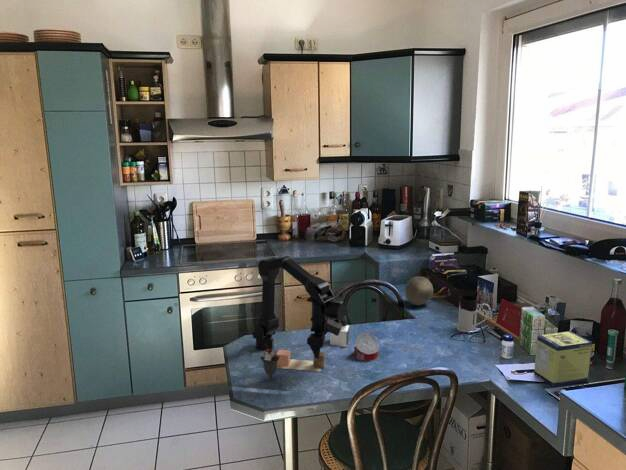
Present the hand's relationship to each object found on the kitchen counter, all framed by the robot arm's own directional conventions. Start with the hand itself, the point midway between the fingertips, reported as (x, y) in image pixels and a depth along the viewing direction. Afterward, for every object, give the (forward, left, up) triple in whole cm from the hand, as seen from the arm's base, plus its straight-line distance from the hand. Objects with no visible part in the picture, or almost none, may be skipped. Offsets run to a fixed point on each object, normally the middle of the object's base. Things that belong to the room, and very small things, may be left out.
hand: (319, 352), depth 195 cm
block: (-14, 0, -5) cm, 15 cm away
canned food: (+17, +15, -7) cm, 24 cm away
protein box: (+89, +8, -7) cm, 90 cm away
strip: (-9, 0, -7) cm, 11 cm away
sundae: (-16, -14, -7) cm, 22 cm away
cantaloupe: (+40, +79, -7) cm, 89 cm away
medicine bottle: (+5, +25, -7) cm, 26 cm away
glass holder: (+63, +49, -7) cm, 80 cm away
